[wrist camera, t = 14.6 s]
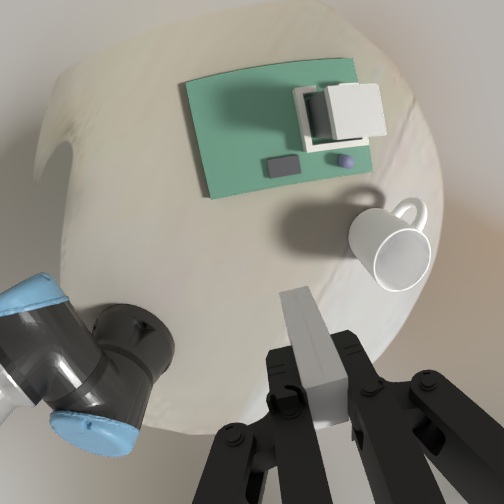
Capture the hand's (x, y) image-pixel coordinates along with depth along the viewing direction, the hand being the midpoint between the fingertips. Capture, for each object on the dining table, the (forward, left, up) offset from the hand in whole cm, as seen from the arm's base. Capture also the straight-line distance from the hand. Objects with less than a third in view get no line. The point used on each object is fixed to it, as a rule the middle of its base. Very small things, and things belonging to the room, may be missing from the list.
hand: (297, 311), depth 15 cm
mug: (+16, -6, -27) cm, 31 cm away
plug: (+10, +10, -25) cm, 29 cm away
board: (+4, +10, -26) cm, 28 cm away
